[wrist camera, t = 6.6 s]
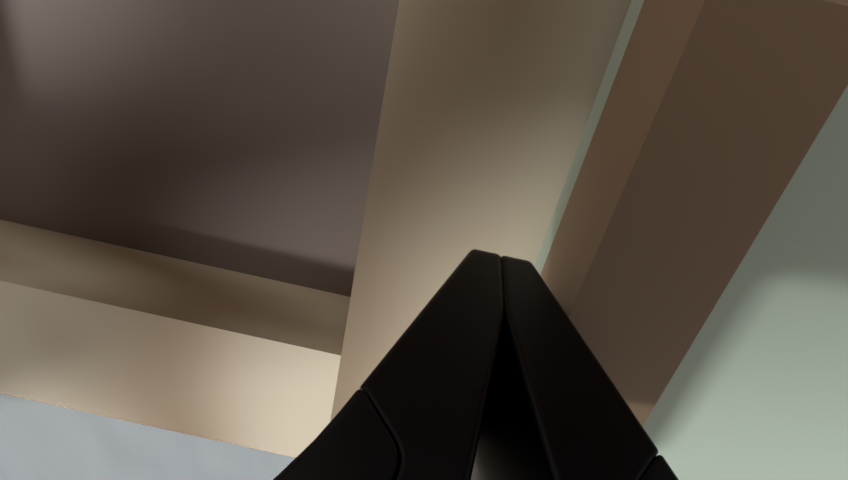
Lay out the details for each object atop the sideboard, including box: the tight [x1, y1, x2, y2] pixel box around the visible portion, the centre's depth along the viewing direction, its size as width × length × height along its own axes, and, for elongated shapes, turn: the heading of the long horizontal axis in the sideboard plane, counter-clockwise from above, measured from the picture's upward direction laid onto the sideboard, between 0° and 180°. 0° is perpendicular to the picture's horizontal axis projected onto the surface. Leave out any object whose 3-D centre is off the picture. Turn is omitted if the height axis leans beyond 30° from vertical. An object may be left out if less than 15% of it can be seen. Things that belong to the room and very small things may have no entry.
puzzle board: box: [0, 0, 632, 458], centre depth 11 cm, size 24×15×2 cm, turn 79°
